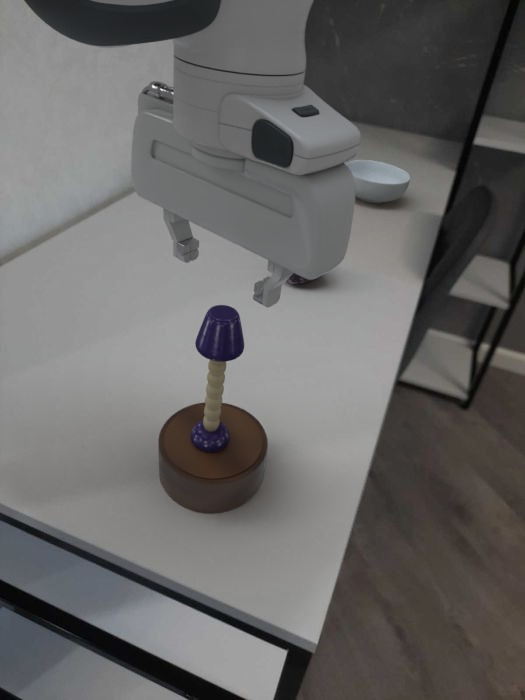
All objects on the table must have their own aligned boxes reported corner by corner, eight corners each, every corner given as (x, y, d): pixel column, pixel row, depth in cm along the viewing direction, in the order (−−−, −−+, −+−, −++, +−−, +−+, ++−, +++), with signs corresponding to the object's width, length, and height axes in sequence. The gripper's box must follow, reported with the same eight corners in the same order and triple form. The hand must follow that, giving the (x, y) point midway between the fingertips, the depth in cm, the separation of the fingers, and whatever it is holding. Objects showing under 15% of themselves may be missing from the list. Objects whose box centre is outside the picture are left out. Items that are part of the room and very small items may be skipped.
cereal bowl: (373, 215, 125) (380, 187, 121) (325, 191, 135) (330, 164, 130) (416, 204, 134) (424, 177, 130) (369, 182, 144) (375, 156, 140)
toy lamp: (216, 416, 60) (224, 293, 50) (243, 440, 57) (258, 315, 47) (182, 436, 57) (184, 309, 47) (210, 461, 55) (218, 334, 44)
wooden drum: (213, 534, 54) (215, 504, 51) (137, 469, 59) (134, 438, 56) (283, 468, 61) (289, 438, 58) (210, 416, 67) (212, 386, 64)
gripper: (106, 78, 39) (117, 245, 47) (330, 157, 30) (294, 347, 38) (169, 72, 43) (169, 227, 52) (383, 140, 34) (340, 315, 42)
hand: (224, 279), depth 45 cm, fingers open, 8 cm apart
